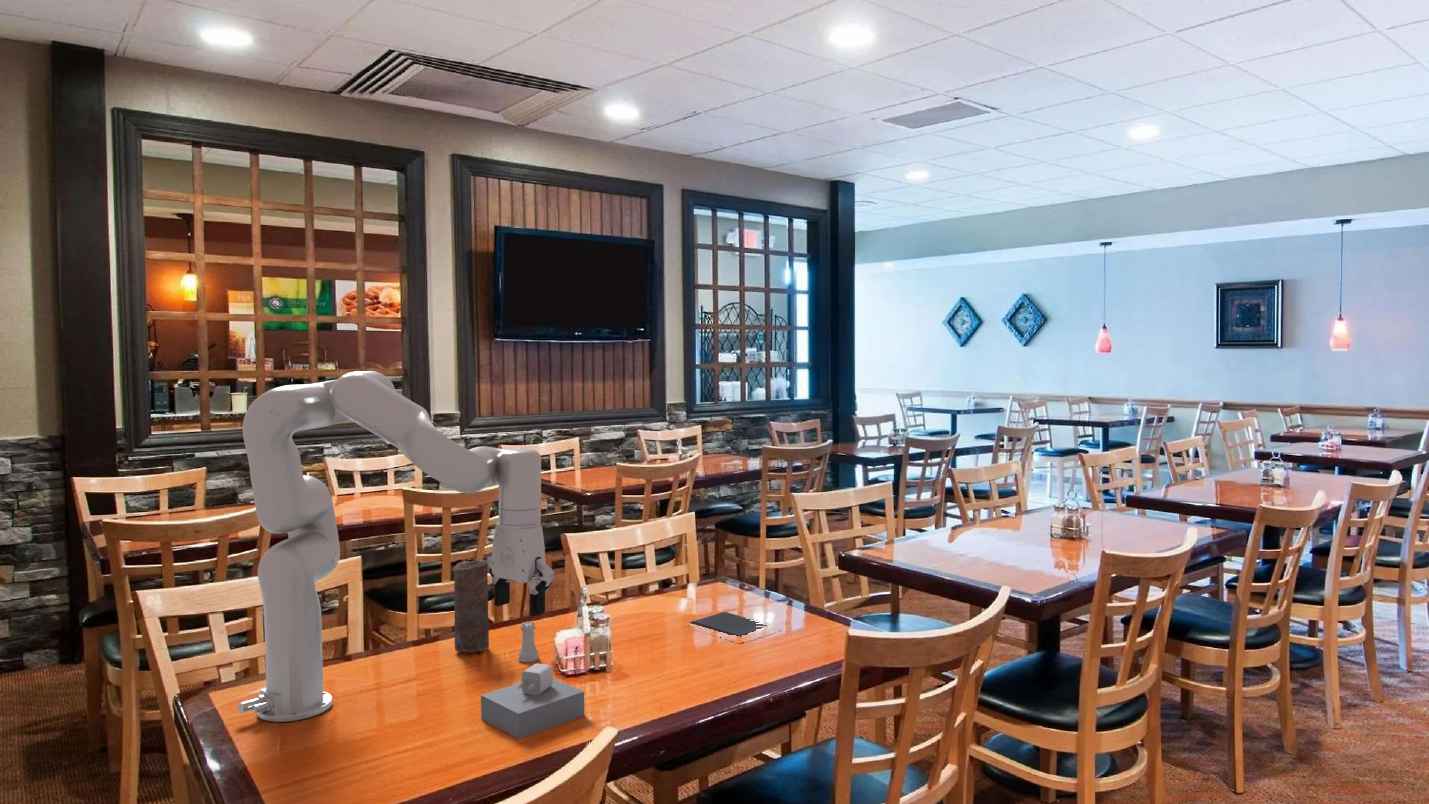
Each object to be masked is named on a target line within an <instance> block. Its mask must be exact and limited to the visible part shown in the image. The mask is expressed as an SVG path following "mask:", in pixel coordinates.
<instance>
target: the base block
mask: <svg viewBox="0 0 1429 804" xmlns="http://www.w3.org/2000/svg"><path fill="white" fill-rule="evenodd" d="M520 684H521V682H519V683H516V684H512V685H509V686H505V687H502V688H499V689H496V690H494V691H490V692H487V693H484V694H481V695H480V717H481V718H480V719H481V720H482V721H484V722H486V723H488V724H489V725H492V726H493V727H496V728H497V729H499V730H501V731H503V732H505V733H507V734H509V735H511V736H513V737H514V738H516V739H518V740H520V739H523V738H525V737H527V736H531V735H534V734H537V733H538V732H542V731H546V730H547V729H550V728H553V727H556V726H559V725H561V724H564V723H567V722H570V721H572V720H575V719H578V718H581V717H583V716H585V690H581V689H580V688H577V687H576V686H573V685H570V684H568V683H565V682H563V681H560V680H558V679H556V678H554V677H553V684H552V686H550V687H549V688H548V689H546V690H545V691H543V692H542V693H541V694H539V695H536V694H528V693H524V692H523V691H522V688H520V689H519V685H520Z"/></svg>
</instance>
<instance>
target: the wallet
mask: <svg viewBox="0 0 1429 804" xmlns="http://www.w3.org/2000/svg"><path fill="white" fill-rule="evenodd" d="M746 618H747V617H745V616H741V615H737V614H734V613H731V612H727V611H723V612H720V613H715V614H713V615H709V616H705V617H703V618H698V619H695V620H692V621H689V622H688V623H691V624H690V626H702V627H705V628H708V629H713V630H715V631H718V632H723V633H726V634H728V635H736V636H740V637H741V636H742V635H747V634H748V633H750V632H754V631H756V629H761V628H763V627H756V626H767V625H763V624H756V623H759V622H760V621H759V622H755V621H750V620H751V619H752V618H749V619H746ZM700 629H704V628H700ZM710 632H713V631H710Z"/></svg>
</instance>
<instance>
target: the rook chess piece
mask: <svg viewBox="0 0 1429 804" xmlns="http://www.w3.org/2000/svg"><path fill="white" fill-rule="evenodd" d="M536 628H537V626H536V625H535V622H534V621H532V620H531V621H526V622H525V621H524V622H522V623H521V627H520V630H521V631H522V633H521V636H522V642H521V647H520V650H519V651H518V657H517V659H518V660H519V662H520V663H524V662H525V664H527V663H528V662H529V663H534V662H537V660H538V659H539V658H540V656H539V650H538V649H537V647H536V645H535V634H536V633H535V629H536ZM533 661H534V662H533ZM526 662H527V663H526Z"/></svg>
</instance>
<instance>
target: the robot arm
mask: <svg viewBox="0 0 1429 804" xmlns="http://www.w3.org/2000/svg"><path fill="white" fill-rule="evenodd" d="M348 422H353V423H355V424H357V425H358V426H360V427H362V428H364V429H366V430H367V431H369V432H370V433H372V434H374V435H375V436H376V437H379V438H380V439H382V440H384V441H385V442H387V443H389V444H390V445H392V446H393V447H395V448H397V449H398V450H399V451H400V452H401V453H402V455H403V456H404V457H405V458H406V459H408V460H409V461H410V462H411V463H412V464H413V465H414V466H416V467H417V468H418V469H419V470H420V471H421V472H423V473H424V474H426V475H428V476H429V477H431V478H432V479H435V480H436V481H438V482H439V483H441V484H442V485H444V486H446V487H448V488H449V489H451V490H454V491H456V492H459V493H463V494H475V493H478V492H480V491H481V490H484V489H486V488H489V487H493V486H498V522H497V523H496V525H495V528H494V535H493V539H492V540H493V541H492V550H491V551H492V552H491V553H492V554H491V555H490V556H488V557H487V558H486V562H487V567H488V572H489V575H490V576H491V583H492V584H493V585H494V586H493V588H494V589H493V591H494V594H493V596H494V598H493V599H494V600H493V606H495V607H500V606H504V605H508V604H509V603H510V601H511V597H510V596H511V586H510V585H511V584H510V582H514V583H518V584H526V583H527V586H528V588H529V589H530V592H531V593H530V594H529V596H528V598H529V599H528V600H529V601H528V602H529V604H528V605H529V606H528V607H529V608H528V609H529V610H528V613H529V616H530V617H537V616H539V615H543V614H545V612H546V593H547V592H548V590H549V588H550V587H551V586H552V581H553V579H554V576H555V571H554V570H553V569H552V568H551V567H550V566H549V565H548V564H547V562H546V550H545V548H546V547H545V539H544V531H543V526H542V525H541V524H542V523H541V521H542V520H541V519H542V518H541V517H542V513H541V512H542V511H541V510H542V498H541V497H542V457H541V454H540V452H539V451H537V450H535V449H531V448H530V449H528V448H510V449H507V448H506V449H504V448H498V447H491V446H485V445H482V446H476V447H472V448H470V449H467V447H464V446H462V445H461V444H459V443H458V442H456V441H454V440H452V439H451V438H449V437H447V436H446V435H445V434H443V432H441V431H439V430H438V428H437V427H435V426H434V424H433V423H432V421H431V418H430V415H429V413H428V411H427V410H426V408H424V407H423V406H421V405H419V404H418V403H416V402H414V401H412V400H411V399H409V398H407V397H406V396H404V395H402V394H400V393H399V392H397V391H396V388H395V385H394V384H393V382H392V381H391V379H390V378H389V377H388V376H386V375H385V374H383V373H380V372H377V371H373V370H372V371H371V370H369V371H368V370H364V371H351V372H348V373H345V374H343V375H341V376H340V377H338V378H336V379H333V380H327V381H322V382H315V383H307V384H287V385H282V386H278V387H273V388H271V389H269V390H267V391H265V392H264V393H262V394H261V395H259V396H258V397H257V398H256V399H254V400H253V401H252V402H251V404H250V405H249V407H248V408H247V410H246V412H245V414H244V416H243V420H242V436H243V437H242V438H243V442H244V446H245V451H246V455H247V459H248V468H249V475H250V483H251V488H252V494H253V499H254V506H255V512H256V517H257V520H258V523H259V524H260V526H261V527H262V528H263V529H264V530H265V531H267V532H268V533H271V534H287V535H288V536H287V537H288V538H286V539H284V540H281V541H280V542H278V543H276V544H274V545H272V546H271V547H270V548H269V549H267V551H265V553H264V554H263V555H262V557H261V558H260V560H259V563H258V566H257V567H258V568H257V579H258V585H259V589H260V593H261V598H262V605H263V606H262V607H263V620H264V623H263V624H264V625H263V626H264V646H265V647H264V654H265V657H264V658H265V686H266V687H265V688H261V689H260V694H259V695H256V696H255V698H253V699H247V700H243V701H241V702H240V701H239V703H238V706H237V707H238V708H237V709H238V711H239V713H240V714H243V713H246V712H249V711H253V713H254V714H257V716H258V718H259V719H261V720H264V721H267V722H274V723H275V722H276V723H280V722H281V723H283V722H286V723H287V722H294V721H300V720H304V719H308V718H312V717H315V716H317V715H320V714H322V713H324V712H326V711H327V710H328V709H330V708H331V706H332V705H333V696H332V694H330V693H329V692H326V691H324V668H323V667H324V664H323V625H322V622H323V621H322V607H321V602H320V598H319V595H318V592H317V588H316V587H317V586H316V583H317V582H319V581H320V580H322V579H324V578H326V577H328V576H329V575H330V574H331V573H332V572H334V570H335V569H336V568H337V566H338V563H339V562H340V556H341V548H340V547H341V546H340V545H341V544H340V540H339V532H338V526H337V520H336V513H335V507H334V502H333V497H332V495H331V493H330V490H329V489H328V487H327V486H326V485H325V483H324V482H323V481H322V480H320V479H318V477H317V478H316V477H315V476H311V475H304V473H303V469H302V468H303V467H302V462H301V461H302V459H301V455H300V452H299V450H298V447H297V446H296V443H295V441H294V440H293V435H294V434H295V433H298V432H300V431H306V430H313V429H319V428H323V427H328V426H333V425H338V424H342V423H348ZM536 583H537V584H536Z"/></svg>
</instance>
